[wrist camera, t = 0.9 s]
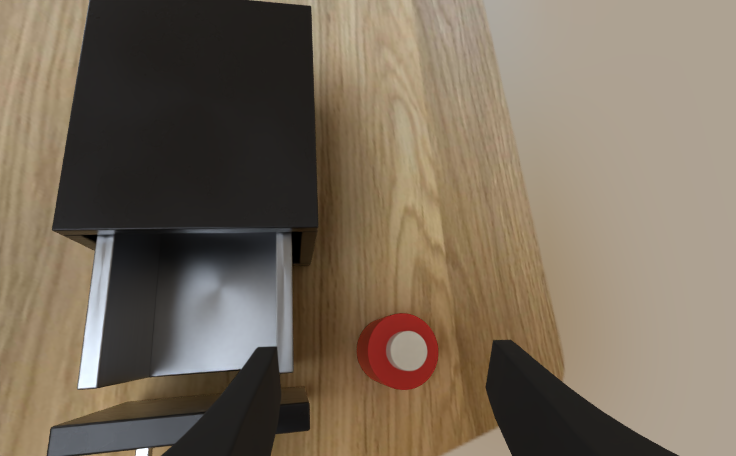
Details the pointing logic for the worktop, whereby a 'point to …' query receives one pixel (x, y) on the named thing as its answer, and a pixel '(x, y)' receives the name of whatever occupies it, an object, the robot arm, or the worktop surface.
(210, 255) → the drawer
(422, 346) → the bottle
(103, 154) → the cabinet
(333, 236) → the worktop surface
